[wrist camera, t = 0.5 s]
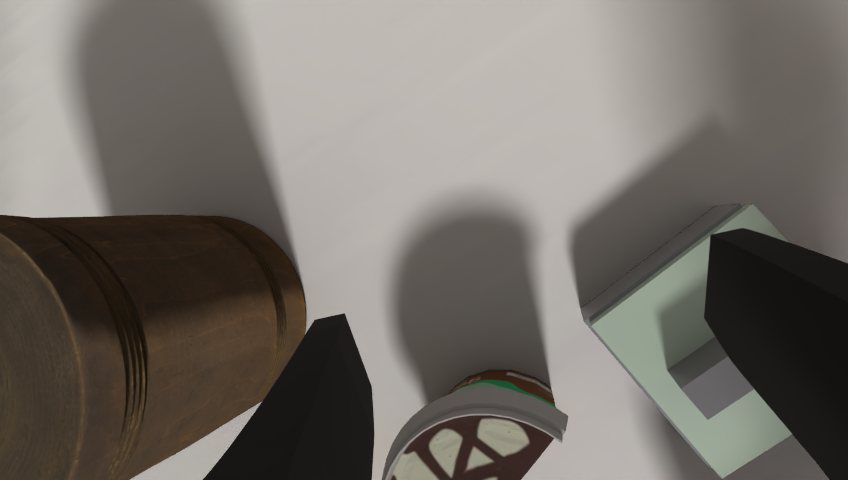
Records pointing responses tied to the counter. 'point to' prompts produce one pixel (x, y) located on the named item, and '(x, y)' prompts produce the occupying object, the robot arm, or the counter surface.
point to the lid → (693, 356)
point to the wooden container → (134, 338)
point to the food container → (478, 431)
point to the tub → (648, 269)
